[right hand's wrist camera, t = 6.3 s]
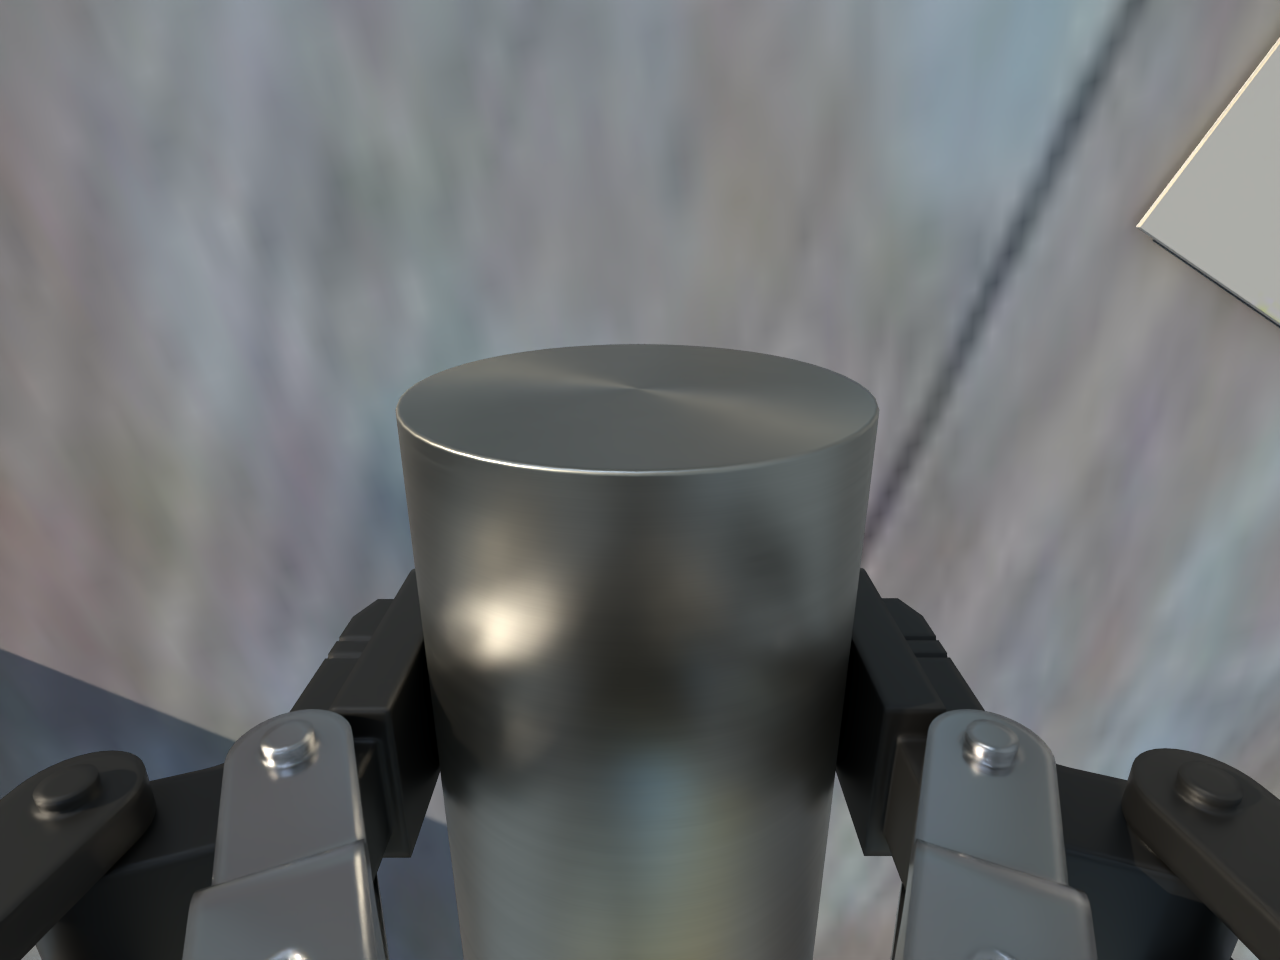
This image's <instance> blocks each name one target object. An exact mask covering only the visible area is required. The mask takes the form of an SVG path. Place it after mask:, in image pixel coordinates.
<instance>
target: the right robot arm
mask: <svg viewBox="0 0 1280 960" xmlns="http://www.w3.org/2000/svg"><path fill="white" fill-rule="evenodd" d="M439 773H440V764H439V756H438V748H437V740H436V732H435V724H434V716H433V708H432V699H431V691H430V683H429V675H428V667H427V659H426V651H425V643H424V635H423V627H422V619H421V611H420V603H419V595H418V587H417V579H416V571H415V569H413V570H411V572H410V573H409V575H408V576H407V578H406V580H405V582H404V583H403V585H402V587H401V588H400V590H399V592H398V593H397V595H396V597H395V598H394V599H378V600H376V601H375V602H373V603H372V604H370V605H369V606H368V607H366V608H365V609H363V610H362V611H361V612H359V613H358V614H356V615H355V616H354V617H353V618H352V619H351V621H350V622H349V624H348V625H347V627H346V628H345V630H344V631H343V633H342V634H341V636H340V640H339V641H337V642H336V643H335V645H334V646H333V648H332V649H331V651H330V652H329V654H328V659H325V660H324V661H323V663H322V664H321V666H320V667H319V669H318V670H317V672H316V673H315V675H314V676H313V678H312V679H311V681H310V682H309V684H308V685H307V687H306V688H305V690H304V691H303V693H302V694H301V696H300V697H299V699H298V700H297V702H296V703H295V705H294V706H293V708H292V709H291V711H290V712H288V713H285V714H282V715H278V716H276V717H273V718H271V719H268V720H266V721H264V722H262V723H260V724H258V725H257V726H255V727H254V728H252V729H250V730H249V731H248V732H246V733H245V734H244V735H243V736H241V737H240V738H239V739H238V740H237V741H236V742H235V743H234V745H233V746H232V747H231V749H230V750H229V752H228V754H227V756H226V759H225V763H223V764H220V765H217V766H214V767H211V768H207V769H203V770H199V771H194V772H190V773H185V774H181V775H176V776H171V777H167V778H162V779H158V780H153V781H149V779H148V775H147V772H146V769H145V766H144V764H143V762H142V760H141V759H140V758H138V757H137V756H135V755H133V754H131V753H128V752H123V751H100V752H94V753H88V754H84V755H80V756H77V757H74V758H71V759H68V760H65V761H62V762H60V763H57V764H55V765H53V766H51V767H49V768H47V769H45V770H43V771H41V772H39V773H37V774H35V775H34V776H32V777H30V778H29V779H27V780H26V781H24V782H23V783H22V784H20V785H19V786H17V787H16V788H15V789H13V790H12V791H11V792H10V793H8V794H7V795H6V796H5V797H3V798H2V799H1V800H0V960H21V959H22V958H23V957H24V956H25V955H26V954H27V953H28V952H29V951H30V950H31V949H32V948H33V947H34V946H35V945H36V947H37V949H38V952H39V954H40V956H41V959H42V960H389V953H388V945H387V938H386V931H385V923H384V916H383V909H382V901H381V894H380V889H379V883H378V877H377V871H378V868H379V866H380V863H381V860H382V858H411V855H412V852H413V849H414V847H415V844H416V841H417V838H418V835H419V832H420V829H421V826H422V823H423V820H424V817H425V814H426V811H427V808H428V805H429V802H430V800H431V797H432V794H433V791H434V788H435V785H436V782H437V779H438V776H439ZM836 773H837V776H838V779H839V782H840V785H841V788H842V791H843V794H844V797H845V800H846V803H847V806H848V809H849V812H850V815H851V818H852V821H853V824H854V827H855V830H856V833H857V836H858V839H859V842H860V845H861V848H862V851H863V854H864V856H892V857H893V860H894V862H895V865H896V868H897V870H898V873H899V876H900V878H901V881H902V883H901V889H900V894H899V901H898V908H897V916H896V923H895V931H894V938H893V945H892V953H891V960H1233V959H1232V958H1231V955H1232V953H1233V950H1234V948H1235V946H1236V943H1237V941H1238V939H1239V940H1240V941H1241V942H1242V943H1243V944H1244V945H1245V946H1246V947H1247V948H1248V949H1249V950H1250V951H1251V952H1252V953H1253V954H1254V955H1255V956H1256V957H1257V958H1258V959H1259V960H1280V800H1279V799H1278V798H1277V797H1275V796H1274V795H1273V794H1272V793H1270V792H1269V791H1268V790H1267V789H1265V788H1264V787H1263V786H1261V785H1260V784H1259V783H1257V782H1256V781H1255V780H1253V779H1252V778H1250V777H1249V776H1247V775H1246V774H1244V773H1242V772H1241V771H1239V770H1237V769H1235V768H1233V767H1231V766H1229V765H1227V764H1225V763H1223V762H1220V761H1218V760H1216V759H1213V758H1210V757H1207V756H1204V755H1201V754H1198V753H1194V752H1190V751H1185V750H1179V749H1167V748H1163V749H1153V750H1149V751H1146V752H1143V753H1141V754H1140V755H1139V756H1137V757H1136V758H1135V760H1134V762H1133V764H1132V768H1131V771H1130V774H1129V777H1128V780H1123V779H1119V778H1114V777H1110V776H1105V775H1100V774H1096V773H1091V772H1087V771H1082V770H1078V769H1073V768H1069V767H1065V766H1062V765H1058V764H1056V763H1055V759H1054V756H1053V754H1052V752H1051V750H1050V749H1049V747H1048V746H1047V745H1046V743H1045V742H1044V741H1043V740H1042V739H1041V738H1040V737H1039V736H1037V735H1036V734H1035V733H1034V732H1032V731H1031V730H1030V729H1028V728H1026V727H1025V726H1023V725H1022V724H1020V723H1018V722H1016V721H1014V720H1012V719H1009V718H1007V717H1004V716H1002V715H998V714H995V713H992V712H987V711H985V710H984V709H983V707H982V706H981V704H980V703H979V701H978V700H977V698H976V697H975V695H974V693H973V692H972V690H971V689H970V687H969V686H968V684H967V683H966V681H965V680H964V678H963V677H962V675H961V674H960V672H959V671H958V669H957V668H956V666H955V665H954V663H953V662H952V660H951V658H947V652H946V651H945V649H944V648H943V646H942V645H941V643H940V642H939V640H936V636H935V634H934V633H933V631H932V630H931V628H930V627H929V625H928V623H927V622H926V620H925V619H924V617H923V616H922V615H921V614H919V613H918V612H916V611H915V610H914V609H912V608H911V607H909V606H908V605H907V604H905V603H904V602H902V601H901V600H899V599H898V598H881V596H880V595H879V593H878V591H877V590H876V588H875V586H874V584H873V583H872V581H871V579H870V578H869V576H868V574H867V572H866V571H865V570H864V569H863V568H860V573H859V581H858V589H857V598H856V606H855V614H854V622H853V630H852V639H851V647H850V655H849V663H848V672H847V680H846V688H845V696H844V705H843V713H842V721H841V729H840V737H839V746H838V754H837V762H836Z"/></svg>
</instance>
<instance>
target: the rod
mask: <svg viewBox="0 0 1280 960" xmlns="http://www.w3.org/2000/svg"><path fill="white" fill-rule="evenodd" d="M878 416H879V408H878V405H877V402H876V399H875V397H874V396H873V395H872V394H871V393H870V392H869V391H868V390H867V389H866V388H864V387H863V386H862V385H860V384H859V383H857V382H855V381H854V380H852V379H850V378H848V377H846V376H843V375H841V374H838V373H836V372H833V371H831V370H828V369H825V368H822V367H819V366H816V365H813V364H809V363H805V362H801V361H797V360H793V359H789V358H784V357H779V356H774V355H768V354H762V353H755V352H749V351H741V350H733V349H723V348H713V347H700V346H685V345H656V344H620V345H591V346H576V347H563V348H553V349H543V350H535V351H527V352H521V353H514V354H508V355H502V356H497V357H492V358H487V359H483V360H479V361H475V362H471V363H467V364H463V365H460V366H457V367H454V368H450V369H447V370H445V371H442V372H440V373H437V374H435V375H432V376H430V377H428V378H426V379H424V380H422V381H420V382H418V383H416V384H415V385H414V386H412V387H411V388H409V389H408V390H407V391H406V392H405V393H404V394H403V395H402V396H401V398H400V399H399V402H398V404H397V407H396V418H397V426H398V434H399V442H400V450H401V458H402V466H403V474H404V482H405V490H406V498H407V506H408V514H409V522H410V530H411V538H412V546H413V555H414V563H415V571H416V579H417V587H418V595H419V603H420V611H421V619H422V627H423V635H424V643H425V651H426V659H427V667H428V675H429V683H430V691H431V699H432V708H433V716H434V724H435V732H436V740H437V748H438V756H439V764H440V772H441V780H442V788H443V796H444V804H445V812H446V820H447V828H448V836H449V844H450V852H451V861H452V869H453V877H454V885H455V893H456V901H457V909H458V917H459V925H460V933H461V941H462V949H463V957H464V960H813V951H814V943H815V935H816V927H817V919H818V910H819V902H820V894H821V886H822V877H823V869H824V861H825V853H826V844H827V836H828V828H829V820H830V812H831V803H832V795H833V787H834V779H835V770H836V762H837V754H838V746H839V737H840V729H841V721H842V713H843V705H844V696H845V688H846V680H847V672H848V663H849V655H850V647H851V639H852V630H853V622H854V614H855V606H856V598H857V589H858V581H859V573H860V565H861V556H862V548H863V540H864V532H865V523H866V515H867V507H868V499H869V491H870V482H871V474H872V466H873V458H874V449H875V441H876V433H877V425H878Z"/></svg>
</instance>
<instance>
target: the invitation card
mask: <svg viewBox="0 0 1280 960" xmlns="http://www.w3.org/2000/svg"><path fill="white" fill-rule="evenodd" d="M1136 227H1137V228H1138V229H1140V230H1141V231H1143V232H1144V233H1145V234H1147V235H1148V236H1150V237H1151V238H1153V239H1154V240H1156V241H1157V242H1159V243H1160V244H1161V245H1163V246H1164V247H1166V248H1167V249H1169V250H1170V251H1172V252H1173V253H1175V254H1176V255H1177V256H1179V257H1180V258H1182V259H1183V260H1185V261H1186V262H1188V263H1189V264H1191V265H1192V266H1194V267H1195V268H1196V269H1198V270H1199V271H1201V272H1202V273H1204V274H1205V275H1207V276H1208V277H1210V278H1211V279H1212V280H1214V281H1215V282H1217V283H1218V284H1220V285H1221V286H1223V287H1224V288H1226V289H1227V290H1228V291H1230V292H1231V293H1233V294H1234V295H1236V296H1237V297H1239V298H1240V299H1242V300H1243V301H1245V302H1246V303H1247V304H1249V305H1250V306H1252V307H1253V308H1255V309H1256V310H1258V311H1259V312H1261V313H1262V314H1263V315H1265V316H1266V317H1268V318H1269V319H1271V320H1272V321H1274V322H1275V323H1277V324H1278V325H1280V38H1279V39H1278V40H1277V42H1276V43H1275V44H1274V46H1273V47H1272V48H1271V50H1270V51H1269V52H1268V54H1267V55H1266V56H1265V58H1264V59H1263V60H1262V62H1261V63H1260V64H1259V66H1258V67H1257V68H1256V69H1255V71H1254V72H1253V73H1252V75H1251V76H1250V77H1249V79H1248V80H1247V81H1246V83H1245V84H1244V85H1243V87H1242V88H1241V89H1240V91H1239V92H1238V93H1237V94H1236V96H1235V97H1234V98H1233V100H1232V101H1231V102H1230V104H1229V105H1228V106H1227V108H1226V109H1225V110H1224V112H1223V113H1222V114H1221V116H1220V117H1219V118H1218V119H1217V121H1216V122H1215V123H1214V125H1213V126H1212V127H1211V129H1210V130H1209V131H1208V133H1207V134H1206V135H1205V137H1204V138H1203V139H1202V141H1201V142H1200V143H1199V145H1198V146H1197V147H1196V148H1195V150H1194V151H1193V152H1192V154H1191V155H1190V156H1189V158H1188V159H1187V160H1186V162H1185V163H1184V164H1183V166H1182V167H1181V168H1180V170H1179V171H1178V172H1177V173H1176V175H1175V176H1174V177H1173V179H1172V180H1171V181H1170V183H1169V184H1168V185H1167V187H1166V188H1165V189H1164V191H1163V192H1162V193H1161V195H1160V196H1159V197H1158V199H1157V200H1156V201H1155V202H1154V204H1153V205H1152V206H1151V208H1150V209H1149V210H1148V212H1147V213H1146V214H1145V216H1144V217H1143V218H1142V220H1141V221H1140V222H1139V224H1138V225H1137V226H1136Z"/></svg>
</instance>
